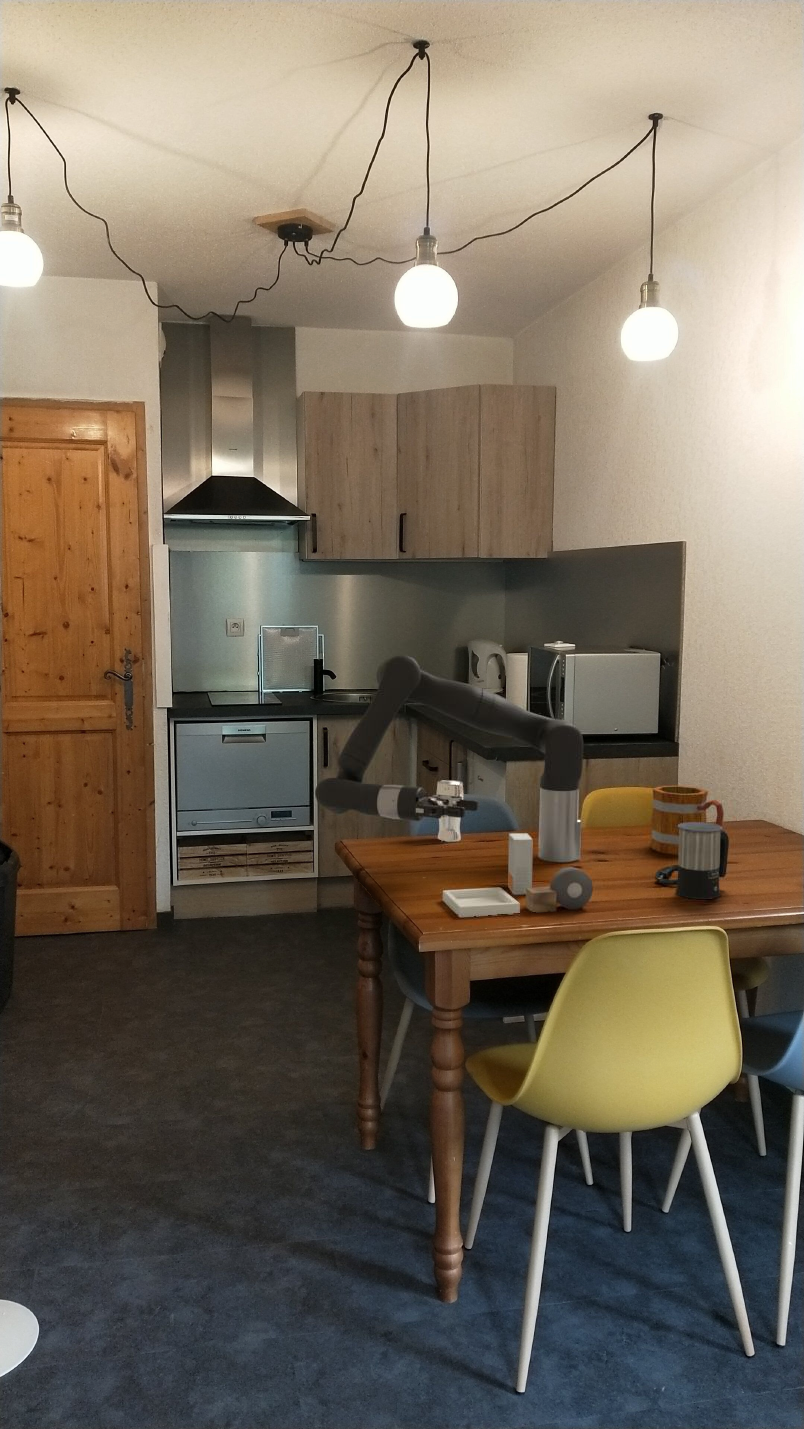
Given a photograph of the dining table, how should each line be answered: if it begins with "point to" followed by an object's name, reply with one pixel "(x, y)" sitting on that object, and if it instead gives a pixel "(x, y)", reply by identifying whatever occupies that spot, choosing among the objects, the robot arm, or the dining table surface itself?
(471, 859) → the dining table surface
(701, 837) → the milk frother
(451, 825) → the beer glass
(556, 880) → the trolley wheel
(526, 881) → the skincare box
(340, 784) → the robot arm
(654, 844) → the mug
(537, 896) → the walnut block
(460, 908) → the tray
